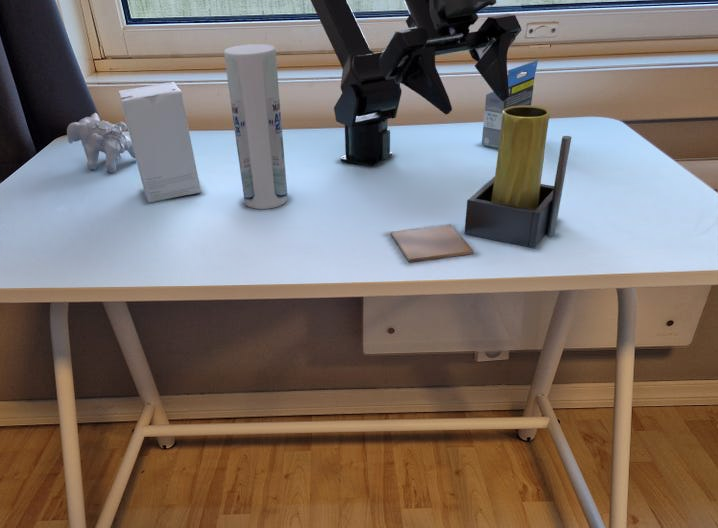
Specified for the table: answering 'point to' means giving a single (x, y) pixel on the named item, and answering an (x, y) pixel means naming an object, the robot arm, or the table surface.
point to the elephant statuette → (100, 140)
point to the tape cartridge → (507, 102)
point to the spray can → (257, 123)
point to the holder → (518, 211)
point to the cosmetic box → (161, 140)
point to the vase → (520, 156)
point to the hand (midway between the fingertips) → (478, 105)
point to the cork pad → (431, 243)
